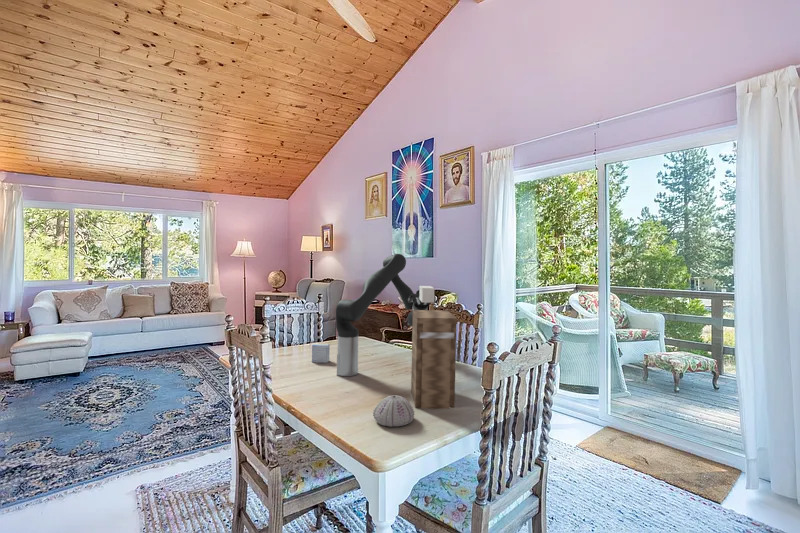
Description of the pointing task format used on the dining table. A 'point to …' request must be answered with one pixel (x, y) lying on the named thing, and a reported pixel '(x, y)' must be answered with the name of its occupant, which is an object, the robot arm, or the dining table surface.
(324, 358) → the medicine box
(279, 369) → the dining table surface
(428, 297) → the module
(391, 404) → the sea urchin shell
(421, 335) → the shelf unit
